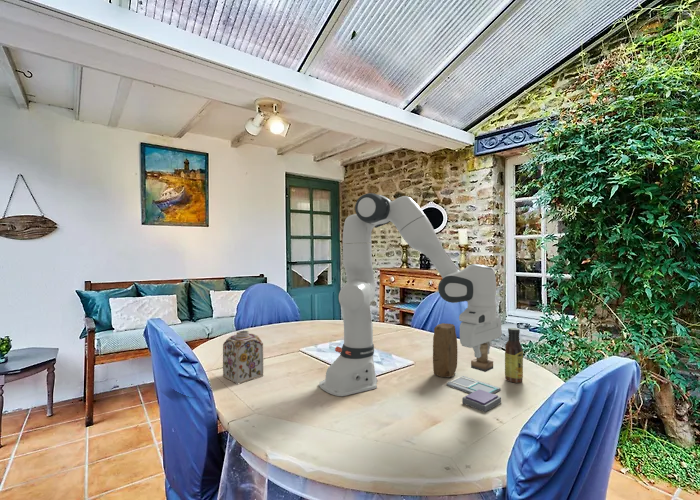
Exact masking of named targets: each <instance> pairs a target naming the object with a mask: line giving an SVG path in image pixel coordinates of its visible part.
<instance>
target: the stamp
mask: <svg viewBox="0 0 700 500" xmlns="http://www.w3.org/2000/svg"><path fill="white" fill-rule="evenodd" d="M480 352H482V357H480V358H474V359H472V360H471V361H470V369H474V370H476V371H480V372H484V373H487V372H489V371H491V370H493V369H494V361H493V360H492V359H491V360H489V358H488V357H489V354H488V344H486V343H483V344H481V345H480Z"/></svg>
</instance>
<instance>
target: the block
mask: <svg viewBox="0 0 700 500" xmlns="http://www.w3.org/2000/svg"><path fill="white" fill-rule="evenodd" d="M433 331H434V332H433V338H432V367H433V368H432V369H433V371H432V372H433V374H434V375H436V376H438V377H440V378H451V377H453V376H454V375H455V374H456V370H457V367H458V339H457V333H456V326H455V324H453V323H445V322H444V323H443V322H442V323H440V324H437V325H436V326H435V327H434V328H433Z"/></svg>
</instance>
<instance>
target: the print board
mask: <svg viewBox="0 0 700 500" xmlns="http://www.w3.org/2000/svg"><path fill="white" fill-rule="evenodd" d="M446 386H447V387H448V386H449V387H450V388H453V389H456V390H459V391H463V392H465V393H467V394H471V393H473V392H475V391H477V390H479V389H480V390H483V391H486V392H489V393H492V394H495V393H497V392H500V391H501V387H499V386H496V385H493V384H490V383H487V382H484V381H480V380H477V379H474V378H472V377H468V376H464V375H461V376H458V377H456V378H454V379H452V380H449V381H448V382H446Z"/></svg>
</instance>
